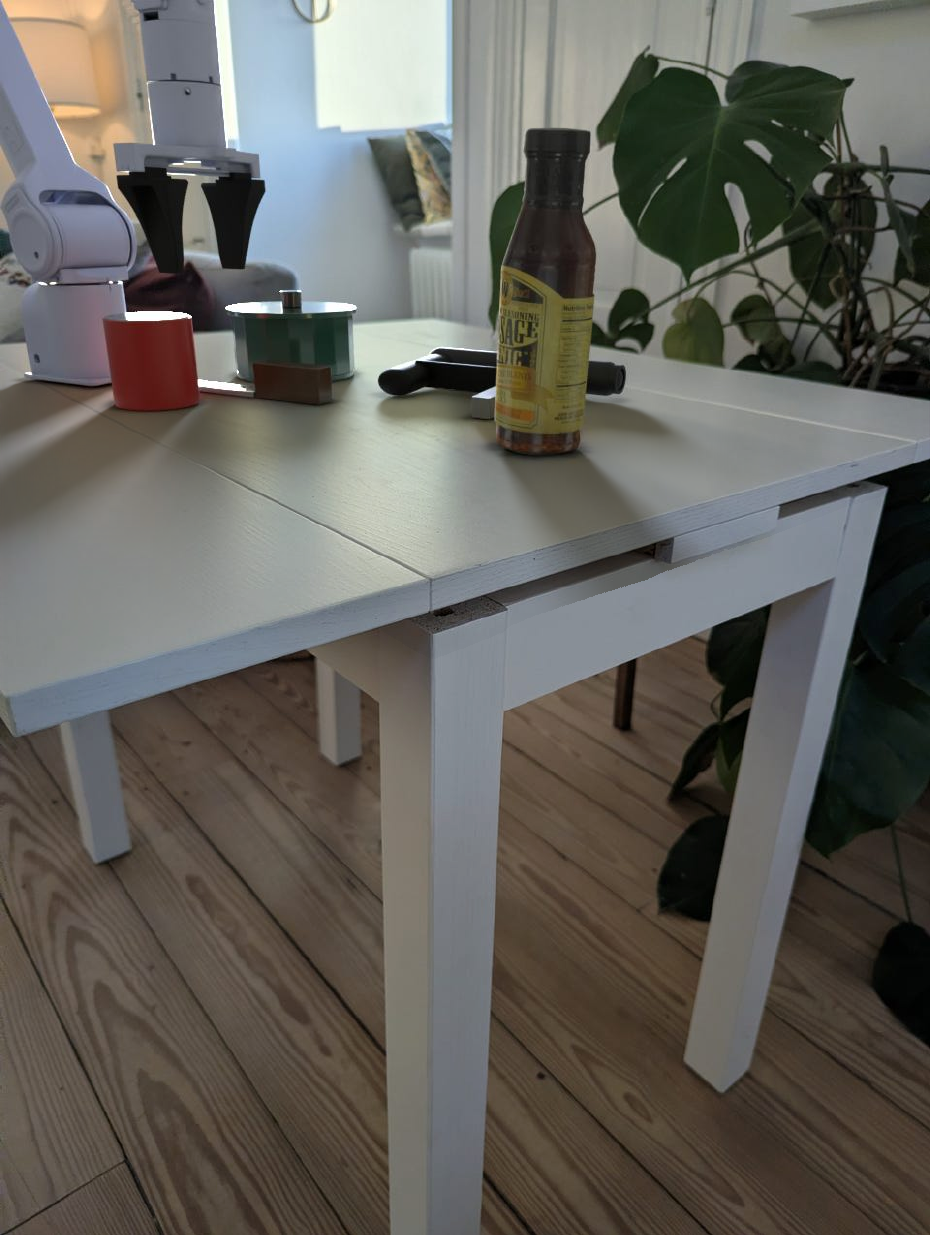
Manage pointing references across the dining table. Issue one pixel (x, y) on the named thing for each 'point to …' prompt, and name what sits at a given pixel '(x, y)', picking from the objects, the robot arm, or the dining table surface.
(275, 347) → the pot
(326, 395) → the knife
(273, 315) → the pot lid
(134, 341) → the can
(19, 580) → the dining table surface
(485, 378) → the door handle
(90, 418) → the dining table surface
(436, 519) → the dining table surface
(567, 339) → the sauce bottle
